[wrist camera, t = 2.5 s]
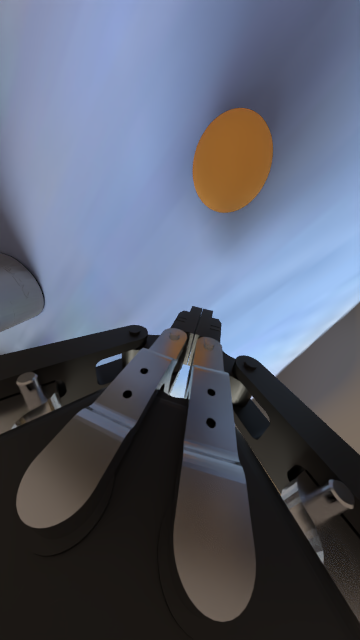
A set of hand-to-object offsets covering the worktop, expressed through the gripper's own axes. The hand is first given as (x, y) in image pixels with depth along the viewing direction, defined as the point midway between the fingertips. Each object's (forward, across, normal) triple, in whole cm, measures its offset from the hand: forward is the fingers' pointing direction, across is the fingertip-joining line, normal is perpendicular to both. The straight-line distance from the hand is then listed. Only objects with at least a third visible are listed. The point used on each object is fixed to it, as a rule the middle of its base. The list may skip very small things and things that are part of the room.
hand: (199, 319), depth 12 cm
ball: (+4, +1, -10) cm, 10 cm away
